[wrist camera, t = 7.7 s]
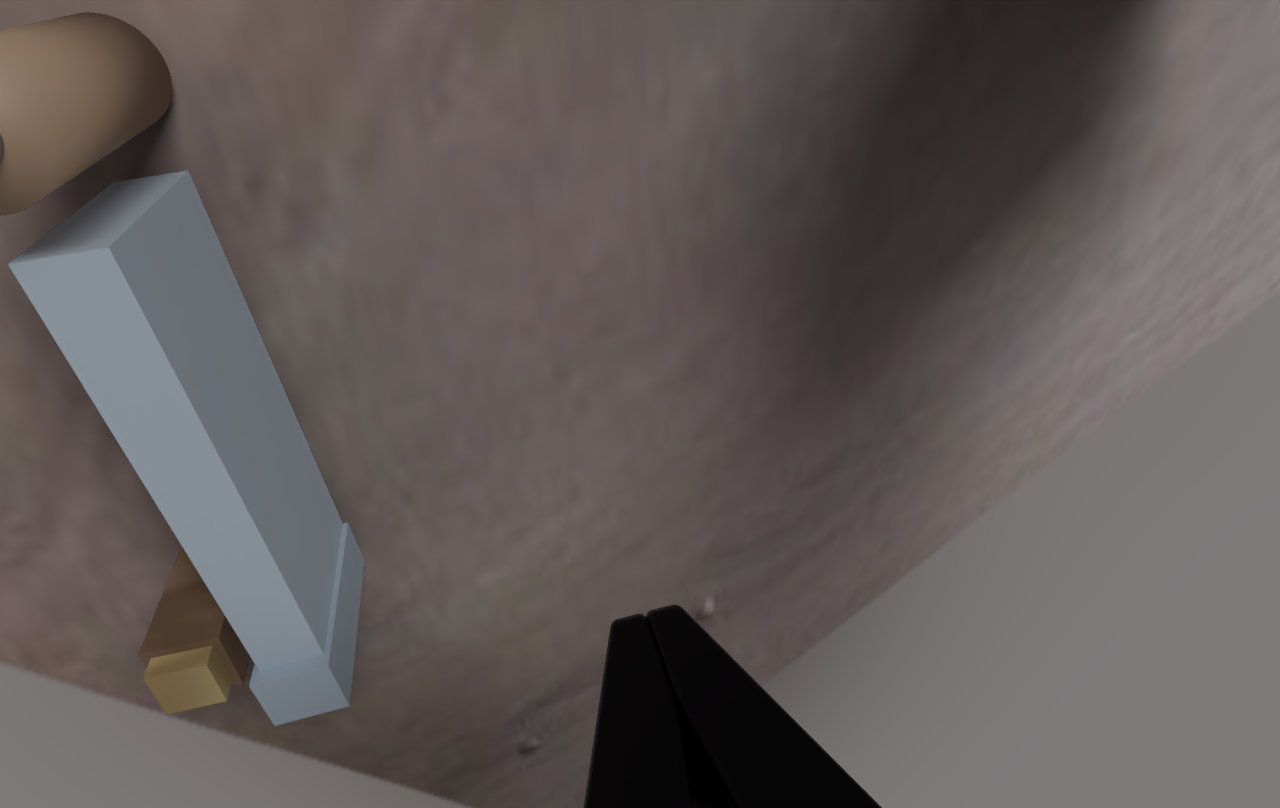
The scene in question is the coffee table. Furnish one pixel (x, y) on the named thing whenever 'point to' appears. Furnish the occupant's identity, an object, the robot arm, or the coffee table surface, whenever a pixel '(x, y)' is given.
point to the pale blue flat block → (177, 357)
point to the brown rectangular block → (191, 645)
